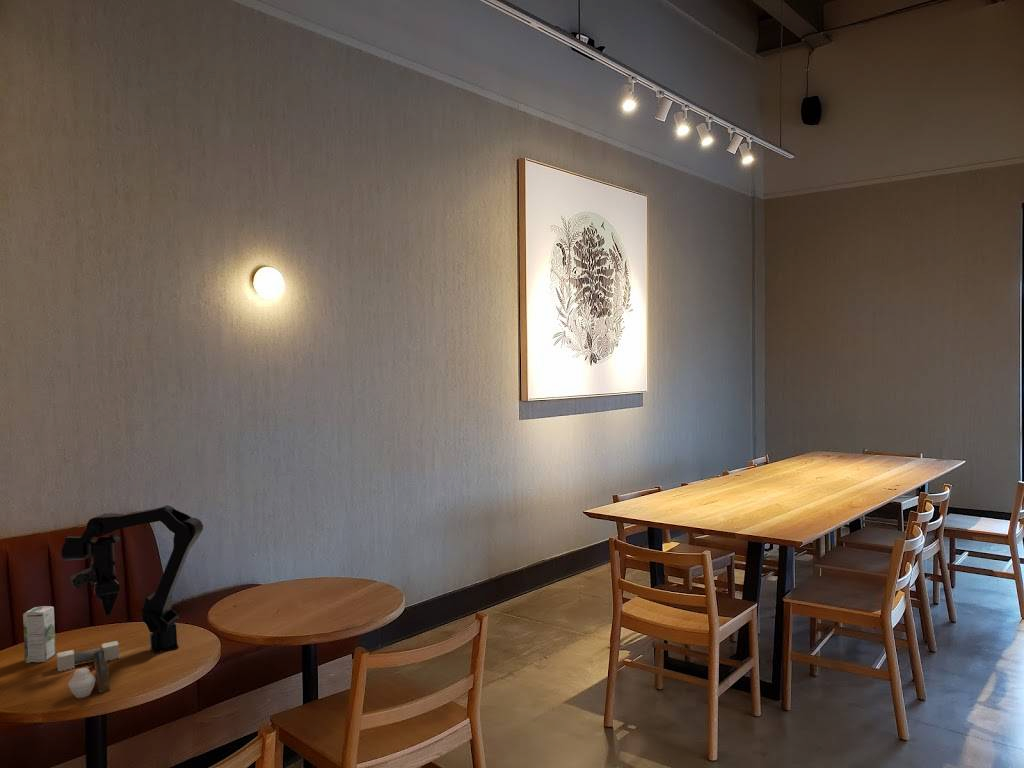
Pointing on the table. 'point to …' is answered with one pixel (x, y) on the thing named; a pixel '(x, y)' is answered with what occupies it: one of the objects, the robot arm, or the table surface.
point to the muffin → (82, 683)
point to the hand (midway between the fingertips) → (106, 611)
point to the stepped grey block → (101, 662)
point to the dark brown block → (102, 682)
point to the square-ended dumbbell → (86, 656)
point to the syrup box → (39, 634)
